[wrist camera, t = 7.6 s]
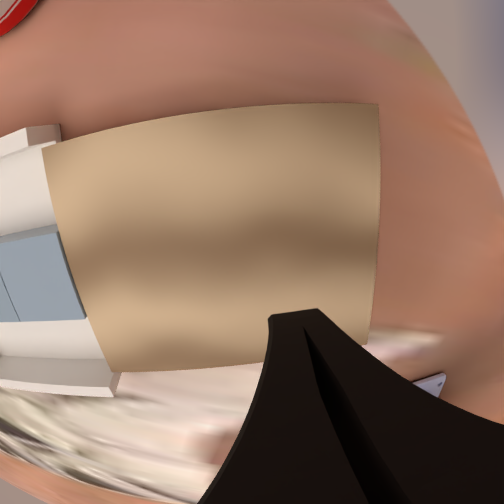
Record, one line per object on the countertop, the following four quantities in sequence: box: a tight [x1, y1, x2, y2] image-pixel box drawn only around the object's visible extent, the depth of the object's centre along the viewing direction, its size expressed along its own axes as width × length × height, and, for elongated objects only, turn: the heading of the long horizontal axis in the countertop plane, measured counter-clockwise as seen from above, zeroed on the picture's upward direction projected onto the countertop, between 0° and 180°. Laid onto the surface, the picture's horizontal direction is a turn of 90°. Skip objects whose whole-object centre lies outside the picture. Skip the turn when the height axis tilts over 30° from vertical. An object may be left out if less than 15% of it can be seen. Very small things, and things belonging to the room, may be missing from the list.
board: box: [41, 103, 380, 372], centre depth 14 cm, size 12×14×2 cm
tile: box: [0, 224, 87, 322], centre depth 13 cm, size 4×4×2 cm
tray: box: [0, 124, 122, 397], centre depth 13 cm, size 14×11×3 cm
